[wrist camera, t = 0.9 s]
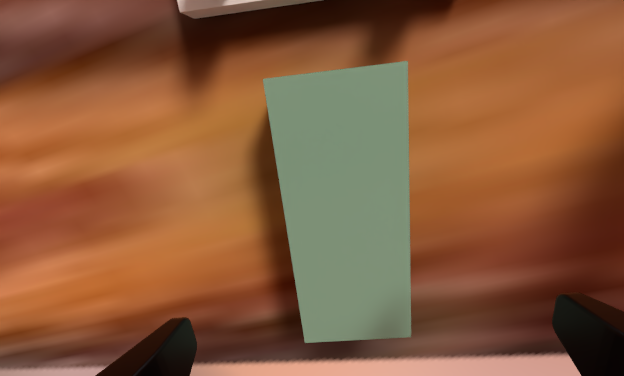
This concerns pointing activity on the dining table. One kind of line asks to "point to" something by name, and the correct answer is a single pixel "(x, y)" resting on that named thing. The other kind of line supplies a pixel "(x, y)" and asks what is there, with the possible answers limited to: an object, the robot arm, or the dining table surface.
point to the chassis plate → (229, 6)
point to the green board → (346, 197)
